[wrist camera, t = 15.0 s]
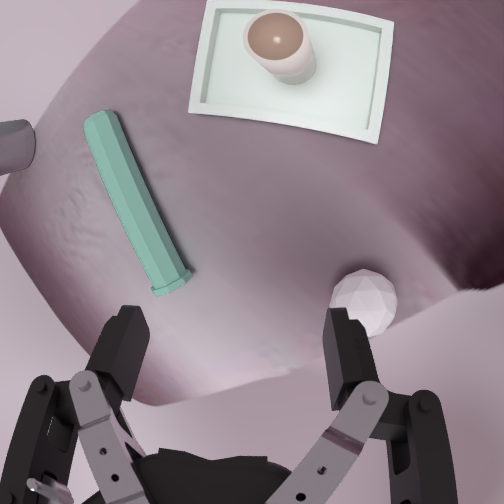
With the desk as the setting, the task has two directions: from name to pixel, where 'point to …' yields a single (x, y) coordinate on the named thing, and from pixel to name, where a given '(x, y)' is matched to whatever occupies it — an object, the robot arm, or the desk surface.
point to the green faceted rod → (134, 203)
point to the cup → (281, 45)
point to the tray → (302, 95)
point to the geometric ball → (367, 300)
